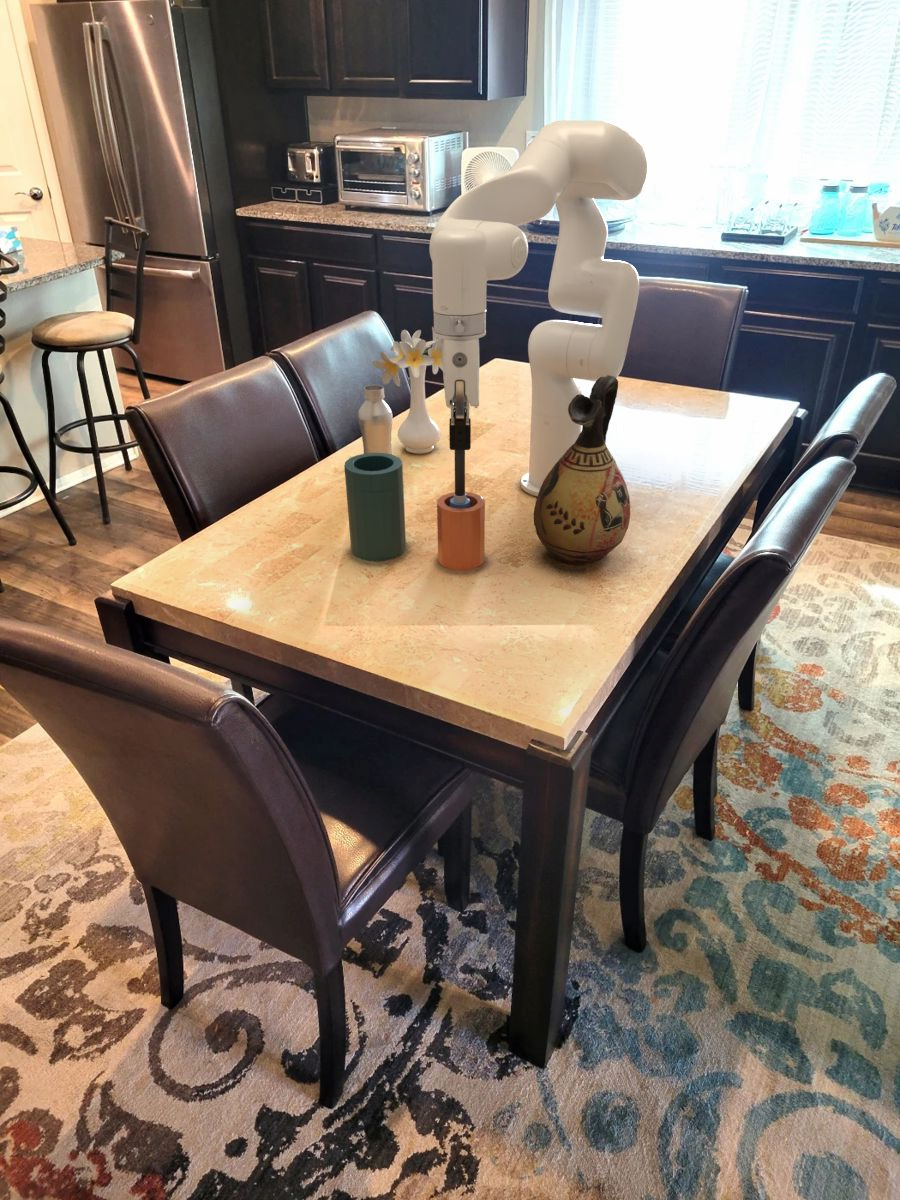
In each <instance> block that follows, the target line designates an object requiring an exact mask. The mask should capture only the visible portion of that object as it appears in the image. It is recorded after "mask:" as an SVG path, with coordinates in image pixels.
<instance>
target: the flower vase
mask: <svg viewBox="0 0 900 1200" xmlns="http://www.w3.org/2000/svg"><path fill="white" fill-rule="evenodd" d="M431 330H432V332H431V333H432V340H430V341H426V340H425V339H422V338H420V336H421V334H422V330H421V329H418V330H416V331H415V332H414V333H413V335H412V336H411V335H410V333H409V331H408V330H407V329H403V330H401V333H400V340H401V341H396V340H395V341H394V342H393V344H392V346H391V347H390V351H391V352H394V353H395V354H394V355H392V356H391V357H389V356H388V355H387V354H386V353H385V352H383V351H381V352H380V358H381V360H373V361H372V365H373V367H375V368H376V369H378V370H380V371H383V373H382V374H381V382H382V383H383V385H389V383H390V381H393V383H394V385H396V387H399V388H400V387H401V379H400V376H399V372H400V371H401V369H407V370H408V375H409V383H410V384H409V385H410V403H409V411H408V414H407V417H406V419H404V421H403V422H402V423H401V424H400V426H399V428H398V429H397V430H398V431H397V439H398V440H399V441H398V442H400V443H401V445H403V446H404V447H405V451H407V453H411V454H416V455H417V454H418V455H421V454H427V453H430V452H432V451H433V450H434V448H435V446H436V444H437V443H438V442H439V441H440V439H441V437H442V436H441V435H442V433H441V432H442V431H441V429H440V427H439V425H438V424H437V422H435V420H434V419H433V418H432V417H431V416H430V414H429V411H428V408H427V407H428V406H427V402H426V401H427V399H426V387H425V386H426V384H425V381H426V380H425V379H426V371H427V370H426V369H427V366H431V368H432V369H431V370H432V374H433V375H437V374H438V372H439V369H440V370H441V371H442V372H443V357H442V339H441V338H438V337H436V336H434V329H433V326H431ZM426 353H427V354H428V355H427V354H426Z"/></svg>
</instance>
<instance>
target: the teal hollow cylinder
mask: <svg viewBox="0 0 900 1200" xmlns="http://www.w3.org/2000/svg"><path fill="white" fill-rule="evenodd" d="M403 465H404V464H403V460H402V459H401V458H400V457H399V456H397V455H394V454H393V453H392V454H387V453H366V454H364V453H362V454H357V455H354V456H352V457H349V458H348V459H347V460H346V461H345V462H344V478H345V489H346V503H347V504H346V505H347V514H348V515H347V516H348V527H349V529H348V530H349V540H350V549H351V553H352V555H353V556H354V557H355V558H357V559H359V560H363V561H365V562H386V561H392V560H394V559H397V558H399V557H400V556H402V555H403V554H404V553H405V552H406V550H407V537H406V536H407V534H406V533H407V532H406V514H405V513H406V512H405V490H404V467H403Z"/></svg>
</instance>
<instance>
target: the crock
mask: <svg viewBox="0 0 900 1200" xmlns="http://www.w3.org/2000/svg"><path fill="white" fill-rule="evenodd" d="M454 493H455V491H454V492H449V493H445V494H442V495H441V496H440V497H438V498H437V499H436V524H437V526H436V527H437V562H438V563H439V565H440V566H442V567H443V568H446V569H448V570H453V571H469V570H474V569H477V568H479V567H480V566H482V565H483V564H484V562H485V541H486V539H485V537H486V535H485V531H486V529H485V527H486V501H485V498H484V497H483V496H481V495H480V494H477V493H474V492H470V491H469V492H468V491H465V493H466V498H469V499H470V508H464V509H458V508H451V507H450V499H452V498H454Z"/></svg>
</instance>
